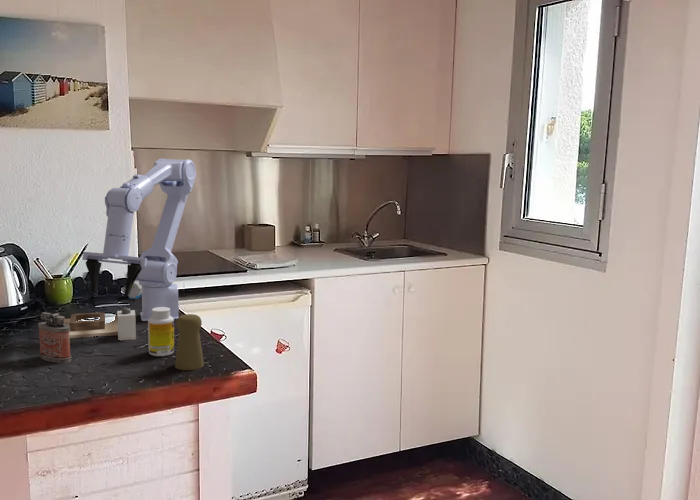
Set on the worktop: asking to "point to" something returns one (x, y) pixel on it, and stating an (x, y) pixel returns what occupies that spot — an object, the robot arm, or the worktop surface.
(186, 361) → the olive pepper mill
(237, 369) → the worktop surface
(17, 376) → the worktop surface
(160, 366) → the worktop surface
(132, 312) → the plug
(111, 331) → the socket dock
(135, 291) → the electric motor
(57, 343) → the lighter
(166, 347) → the supplement bottle
